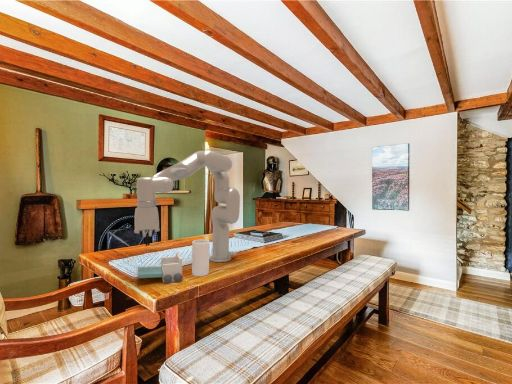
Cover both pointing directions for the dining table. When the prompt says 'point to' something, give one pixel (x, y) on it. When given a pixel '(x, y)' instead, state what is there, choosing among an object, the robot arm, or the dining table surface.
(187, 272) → the dining table surface
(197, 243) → the cup
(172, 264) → the cart
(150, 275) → the tailgate
